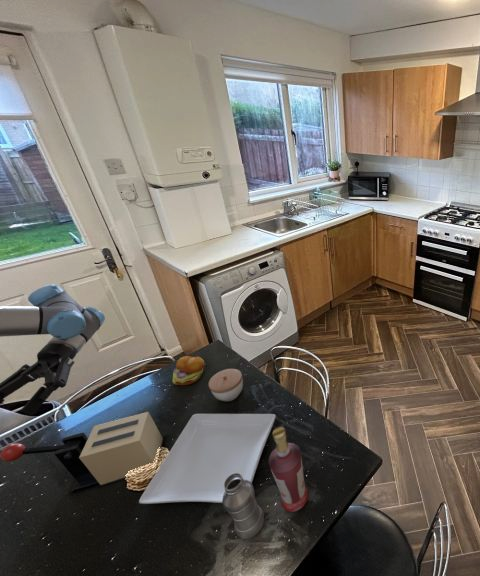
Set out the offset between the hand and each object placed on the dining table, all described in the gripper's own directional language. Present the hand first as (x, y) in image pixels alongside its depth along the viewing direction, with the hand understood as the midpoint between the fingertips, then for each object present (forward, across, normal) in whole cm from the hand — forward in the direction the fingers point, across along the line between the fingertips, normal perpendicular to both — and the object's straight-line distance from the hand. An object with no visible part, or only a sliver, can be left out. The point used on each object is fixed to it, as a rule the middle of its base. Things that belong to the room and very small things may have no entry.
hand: (1, 417), depth 77 cm
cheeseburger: (-30, -18, -33) cm, 48 cm away
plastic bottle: (+23, -57, -30) cm, 68 cm away
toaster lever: (+5, -5, -11) cm, 13 cm away
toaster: (+3, -17, -27) cm, 32 cm away
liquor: (+18, -66, -33) cm, 76 cm away
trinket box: (-20, -36, -35) cm, 54 cm away
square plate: (+5, -42, -31) cm, 52 cm away
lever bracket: (+6, -8, -24) cm, 26 cm away
